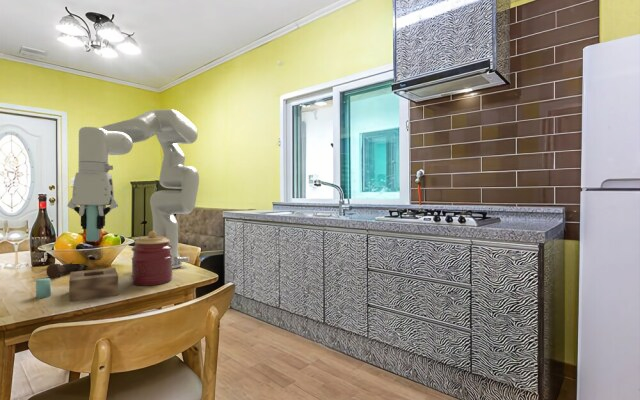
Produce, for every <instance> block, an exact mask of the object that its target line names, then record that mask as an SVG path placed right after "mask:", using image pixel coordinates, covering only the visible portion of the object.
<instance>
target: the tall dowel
mask: <svg viewBox="0 0 640 400" xmlns="http://www.w3.org/2000/svg"><path fill="white" fill-rule="evenodd" d="M98 216H99V209H98V206H94V205H88V206H86V229H85V230H86V231H85V232H86V235H85V236H86V237H85V240H86V242H98V241H100V230H101V229H97V217H98Z"/></svg>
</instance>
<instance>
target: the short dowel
mask: <svg viewBox="0 0 640 400" xmlns="http://www.w3.org/2000/svg"><path fill="white" fill-rule="evenodd" d="M51 279H52V278H49V277H47V278H39V279H36V280H35V298H36V299H43V298H44V299H46V298H49V297H51V295H52V294H51V292H52V291H51V282H52V281H51Z"/></svg>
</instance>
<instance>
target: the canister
mask: <svg viewBox="0 0 640 400" xmlns="http://www.w3.org/2000/svg"><path fill="white" fill-rule="evenodd" d="M169 242H170V240H169V239H167V238H166V237H164V236H157V234H156V232H155V231H153V230H151V231H149V232H148V235H147V236H141V237H139V238H138V239H136V240H134V241H133V243H134V246H133V247H131V251H132V253H133V254H132V257H131V258H130V259H131V277H130V278H131V281H132V284H133V285H136V286H156V285H161V284H162V285H163V284H166V283H169V282H170V281H172V279H173V269H172V257H173V256H172V255H171V249H172V248H173V247H172V246H171V245H170V244H169Z"/></svg>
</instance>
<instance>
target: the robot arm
mask: <svg viewBox="0 0 640 400" xmlns="http://www.w3.org/2000/svg"><path fill="white" fill-rule="evenodd" d="M155 135H156V138H157V141H158V143H159V145H160V147H161V148H162V153H163V154H162V155H163V159H162V164H161V168H160V174H159V177H158V179H159V181H158V182H159V184H160V185H161V187H163V188H166V190H164V189H163V190H157V191H155V192H153V193H152V195H151V196H150V200H149V204H150V209H151V215H152V231H155V232H156V234H157V236H164V237H166V238H167V239H169V240H170V242H169V244H170V245H171V246H172V247H173V248H172V249H171V255H172V256H173V257H172V270H173V269H176V268H181V267H182V265H183V263H189V262H190V257H188V256H183V257H182V256H180V254H179V223H178V220H177V218H176V216H175V214H176V215H177V214H178V215H188V214H190V213H192V212H193V211H194V209H195V206H196V202H197V197H198V196H197V195H198V191H199V184H200V176H199V175H200V174H199V171H198V170H197V169H196V167H194V166H189V165H185V162H186V161H185V160H186V156H185V153H184V152H183V150H182V148H180V146H179V145H182V144H183V145H185V144H186V145H187V144H189V145H190V144H193V143H195V142H196V141H197V139H198V130H197V127H196V125H195V124H194V123H192V122H191V121H190V120H189V118H187V117H186V116H185V115H183V114H182V113H181V112H179V111H177V110H175V109H151V110H148V111H146V112H143V113H141V114H140V115H137V116H134V117H133V118H130V119H126V120H122V121H118V122H114V123H110V124H107V125H103V126H101V127H95V126H83V127H80V128H79V130H78V172H75V175H74V180H73V184H72V186H73V187H72V194H71V195H72V197H71V199H70V200H69V201H68V203H67V205H66V206H67V207H68V208H70V209H71V210H74V211H75V212H76V213H77V214H78V215H79V217H80V227H82V228H81V229H82V230H86V206H88V205H94V206H98V209H99V216H98V217H97V229H100V230H102V229H104V227H105V226H106V216H107V215H108V214H109V213H110V212H111V211H112V210H115V209H117V208H118V207H119V205H118V203H117V201H116V199H115V192H114V181H113V177H112V174H111V173H109V172H110V171H113V170H114V166H113V165H110V164H109V156H124V155H126V154H129V153H130V152H131V151H132V149H133V147H134V146H133V145H134V144H135V143H141V142H144V141H147V140H148V139H150V138H151V137H154V136H155ZM167 189H170V190H167ZM171 189H172V190H171ZM173 189H175V190H173ZM176 189H177V190H176ZM178 189H180V190H178Z"/></svg>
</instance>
